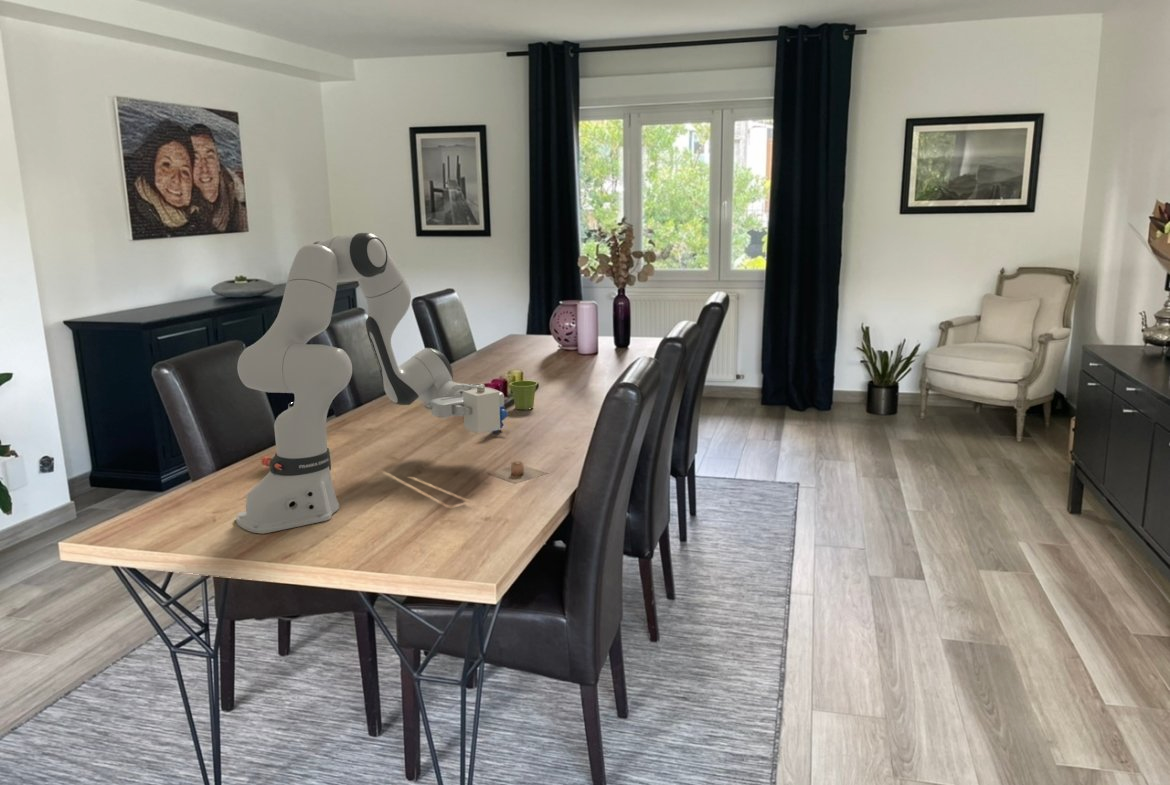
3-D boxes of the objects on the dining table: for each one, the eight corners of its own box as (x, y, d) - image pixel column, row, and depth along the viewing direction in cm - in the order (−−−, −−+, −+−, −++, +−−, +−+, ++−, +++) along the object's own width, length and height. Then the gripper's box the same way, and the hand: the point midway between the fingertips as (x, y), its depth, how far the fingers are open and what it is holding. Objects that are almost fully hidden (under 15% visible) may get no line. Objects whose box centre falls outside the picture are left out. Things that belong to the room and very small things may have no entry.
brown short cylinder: (516, 476, 218) (516, 465, 217) (508, 473, 220) (508, 462, 219) (526, 473, 220) (526, 462, 219) (518, 470, 222) (518, 460, 221)
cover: (478, 434, 219) (476, 391, 216) (464, 428, 224) (462, 386, 222) (500, 429, 223) (498, 387, 221) (486, 424, 228) (484, 382, 226)
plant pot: (506, 406, 293) (505, 382, 291) (532, 403, 297) (531, 379, 295) (516, 413, 285) (515, 387, 283) (542, 409, 289) (541, 384, 287)
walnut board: (514, 488, 213) (514, 483, 212) (487, 478, 220) (487, 473, 220) (548, 477, 220) (548, 473, 220) (520, 468, 228) (520, 464, 227)
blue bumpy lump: (501, 438, 255) (500, 399, 253) (480, 437, 257) (479, 398, 254) (515, 428, 266) (514, 390, 263) (495, 427, 268) (494, 389, 265)
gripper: (420, 394, 225) (447, 403, 215) (486, 382, 238) (515, 391, 227) (422, 417, 226) (449, 428, 216) (487, 404, 239) (516, 414, 229)
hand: (483, 409), depth 222 cm, fingers closed on cover, 7 cm apart
